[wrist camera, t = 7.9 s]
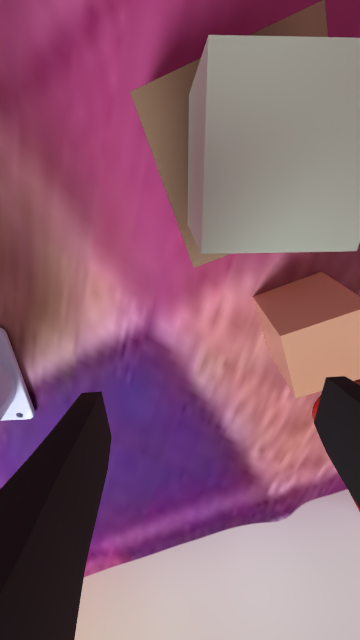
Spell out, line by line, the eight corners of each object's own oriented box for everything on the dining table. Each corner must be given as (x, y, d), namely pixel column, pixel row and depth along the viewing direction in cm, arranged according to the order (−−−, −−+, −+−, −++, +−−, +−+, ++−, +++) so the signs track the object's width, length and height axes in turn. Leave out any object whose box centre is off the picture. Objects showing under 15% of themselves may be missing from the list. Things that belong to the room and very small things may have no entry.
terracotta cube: (267, 349, 20) (295, 398, 16) (252, 296, 18) (280, 336, 14) (329, 328, 20) (376, 373, 15) (321, 271, 18) (373, 304, 13)
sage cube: (187, 224, 12) (201, 253, 8) (188, 94, 10) (208, 34, 6) (288, 223, 12) (357, 251, 8) (310, 95, 10) (420, 38, 6)
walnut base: (187, 247, 17) (193, 267, 13) (139, 112, 14) (129, 91, 10) (303, 202, 16) (343, 211, 12) (280, 47, 13) (324, -1, 9)
